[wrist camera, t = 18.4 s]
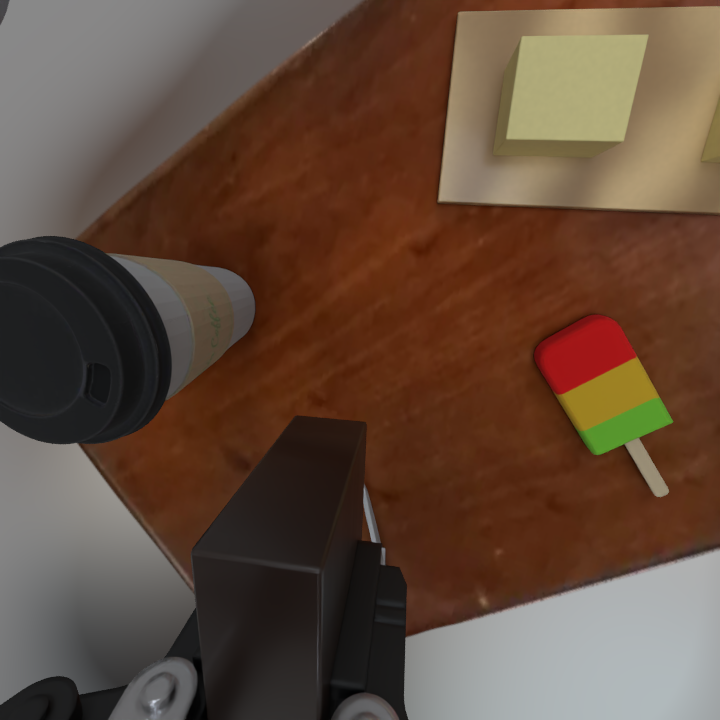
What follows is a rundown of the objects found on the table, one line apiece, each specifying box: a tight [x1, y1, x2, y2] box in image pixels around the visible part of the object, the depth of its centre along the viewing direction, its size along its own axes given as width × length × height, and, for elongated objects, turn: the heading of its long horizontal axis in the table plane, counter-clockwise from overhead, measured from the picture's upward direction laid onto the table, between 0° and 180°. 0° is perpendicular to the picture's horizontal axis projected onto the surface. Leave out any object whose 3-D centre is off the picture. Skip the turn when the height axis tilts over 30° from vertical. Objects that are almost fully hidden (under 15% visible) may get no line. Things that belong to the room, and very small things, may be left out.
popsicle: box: [534, 314, 673, 497], centre depth 26 cm, size 6×15×2 cm, turn 35°
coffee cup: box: [0, 236, 255, 444], centre depth 22 cm, size 9×9×15 cm
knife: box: [363, 484, 385, 565], centre depth 32 cm, size 15×1×2 cm, turn 11°
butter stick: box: [493, 35, 649, 158], centre depth 20 cm, size 6×4×4 cm
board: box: [437, 6, 720, 215], centre depth 22 cm, size 18×10×1 cm, turn 87°
